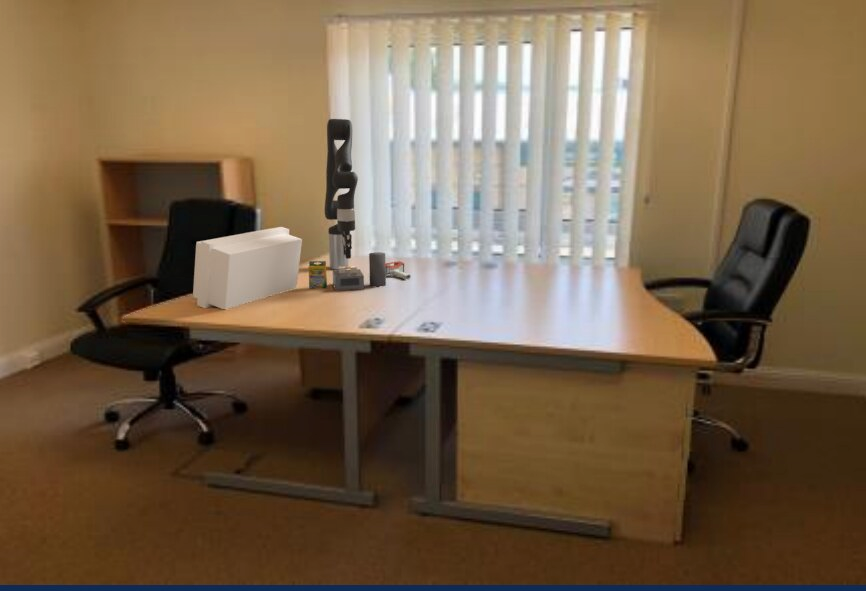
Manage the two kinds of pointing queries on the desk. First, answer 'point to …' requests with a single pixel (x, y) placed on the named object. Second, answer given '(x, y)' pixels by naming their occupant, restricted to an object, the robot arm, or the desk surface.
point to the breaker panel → (348, 280)
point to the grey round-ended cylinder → (377, 269)
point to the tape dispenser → (397, 270)
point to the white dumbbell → (352, 269)
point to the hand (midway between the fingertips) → (347, 256)
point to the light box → (245, 267)
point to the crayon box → (317, 274)
